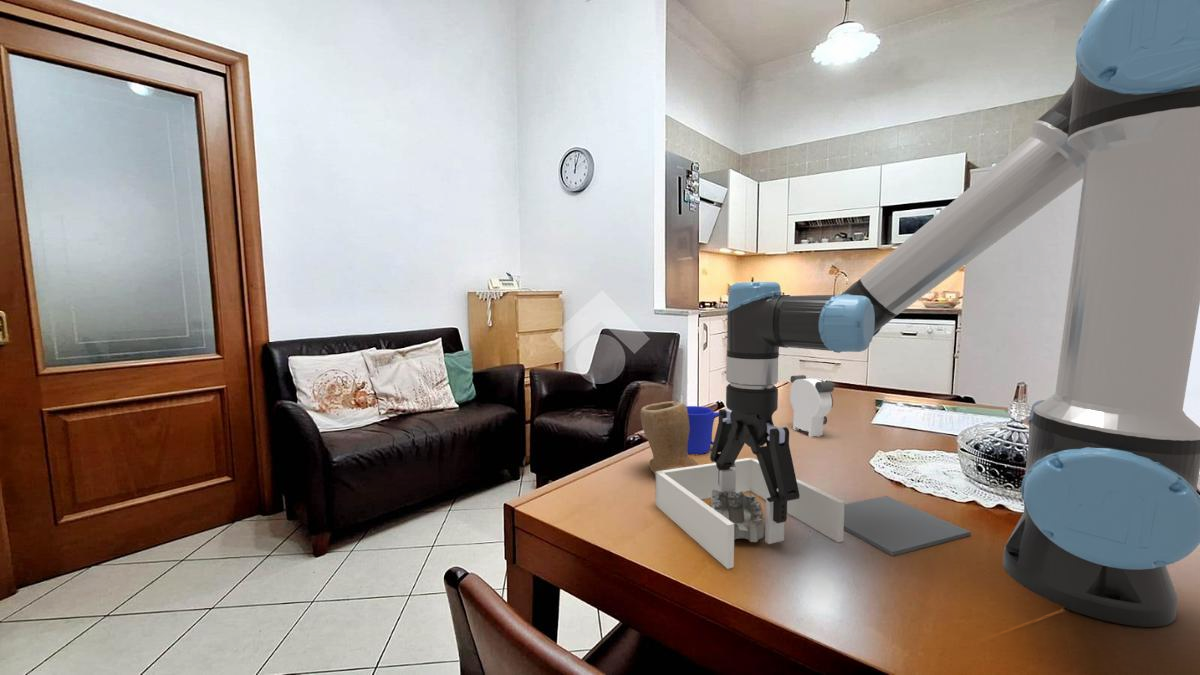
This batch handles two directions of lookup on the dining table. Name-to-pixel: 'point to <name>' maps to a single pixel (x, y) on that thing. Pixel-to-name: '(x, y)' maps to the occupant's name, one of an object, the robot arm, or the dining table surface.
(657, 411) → the stone cup
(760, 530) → the grey castle ring
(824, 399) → the panda figurine
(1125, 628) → the dining table surface
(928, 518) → the mat
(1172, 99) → the robot arm
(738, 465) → the white open frame
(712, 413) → the mug
